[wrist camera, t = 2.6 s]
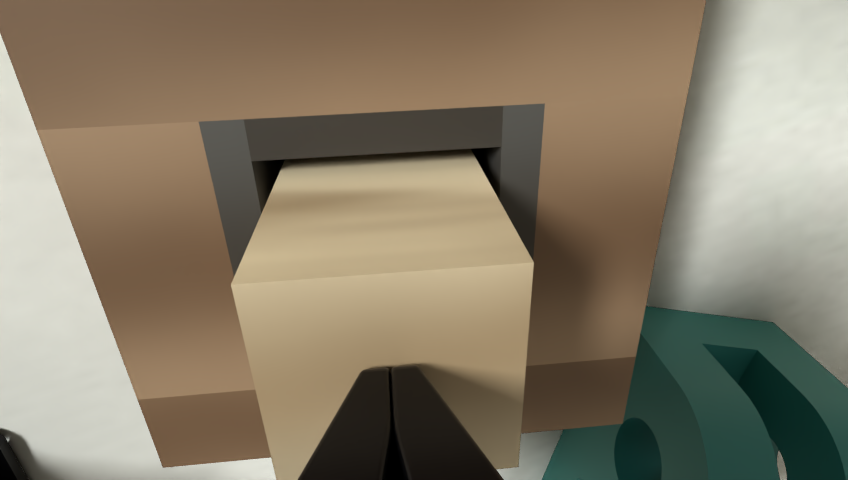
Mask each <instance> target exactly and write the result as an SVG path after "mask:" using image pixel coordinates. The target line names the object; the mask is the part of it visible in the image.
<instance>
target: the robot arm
mask: <svg viewBox="0 0 848 480" xmlns="http://www.w3.org/2000/svg"><path fill="white" fill-rule="evenodd" d="M390 377H391V378H390ZM0 480H28V478H27V476H26V475H25V473H24V471H23V469H22V467H21V465H20V464H19V462H18V460H17V458H16V456H15V455H14V453H13V451H12V449H11V447H10V446H9V444H8V442H7V440H6V439H5V437H4V436H3V435H1V434H0ZM298 480H503V478H502V477H501V476H500V474H499V473H498V472H497V470H496V469H495V468H494V466H493V465H492V464H491V462H490V461H489V460H488V458H487V457H486V456H485V454H484V453H483V452H482V450H481V449H480V447H479V446H478V445H477V443H476V442H475V441H474V439H473V438H472V437H471V435H470V434H469V433H468V431H467V430H466V429H465V427H464V426H463V425H462V423H461V422H460V421H459V419H458V418H457V417H456V415H455V414H454V413H453V411H452V410H451V409H450V407H449V406H448V405H447V403H446V402H445V401H444V399H443V398H442V397H441V395H440V394H439V393H438V391H437V390H436V389H435V387H434V386H433V385H432V383H431V382H430V381H429V379H428V378H427V377H426V375H425V374H424V373H423V371H422V370H421V369H420V368H419V367H418V366H416V365H408V366H396V367H393V368H392V369H391V371H389V369H388V368H373V369H364V370H362V371H361V372H360V374H359V375H358V377H357V379H356V380H355V382H354V384H353V385H352V387H351V389H350V391H349V392H348V394H347V396H346V397H345V399H344V401H343V403H342V404H341V406H340V408H339V409H338V411H337V413H336V415H335V416H334V418H333V420H332V421H331V423H330V425H329V427H328V428H327V430H326V432H325V433H324V435H323V437H322V439H321V440H320V442H319V444H318V445H317V447H316V449H315V451H314V452H313V454H312V456H311V457H310V459H309V461H308V463H307V464H306V466H305V468H304V469H303V471H302V473H301V474H300V476H299V478H298Z"/></svg>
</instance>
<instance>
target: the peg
mask: <svg viewBox="0 0 848 480" xmlns="http://www.w3.org/2000/svg"><path fill="white" fill-rule="evenodd" d="M533 267H534V262H533V260H532V258H531V256H530V255H529V253H528V251H527V249H526V247H525V246H524V244H523V242H522V240H521V238H520V237H519V235H518V233H517V231H516V229H515V228H514V226H513V224H512V222H511V220H510V219H509V217H508V215H507V213H506V211H505V210H504V208H503V206H502V204H501V202H500V201H499V199H498V197H497V195H496V194H495V192H494V190H493V188H492V186H491V185H490V183H489V181H488V179H487V177H486V176H485V174H484V172H483V170H482V168H481V167H480V165H479V163H478V161H477V159H476V158H475V156H474V154H473V152H472V150H471V149H455V150H438V151H420V152H403V153H386V154H368V155H351V156H334V157H317V158H299V159H285V161H284V163H283V165H282V168H281V170H280V172H279V175H278V177H277V179H276V182H275V184H274V186H273V188H272V191H271V193H270V195H269V198H268V200H267V202H266V205H265V207H264V209H263V212H262V214H261V216H260V218H259V221H258V223H257V225H256V228H255V230H254V232H253V235H252V237H251V239H250V242H249V244H248V246H247V248H246V251H245V253H244V255H243V258H242V260H241V262H240V265H239V267H238V269H237V272H236V274H235V276H234V278H233V281H232V283H231V288H232V292H233V296H234V300H235V305H236V309H237V313H238V317H239V322H240V326H241V330H242V335H243V339H244V343H245V347H246V352H247V356H248V360H249V364H250V369H251V373H252V377H253V381H254V386H255V390H256V394H257V399H258V403H259V407H260V411H261V416H262V420H263V424H264V428H265V433H266V437H267V441H268V446H269V450H270V454H271V458H272V463H273V467H274V471H275V475H276V480H298V478H299V476H300V474H301V473H302V471H303V469H304V468H305V466H306V464H307V463H308V461H309V459H310V457H311V456H312V454H313V452H314V451H315V449H316V447H317V445H318V444H319V442H320V440H321V439H322V437H323V435H324V433H325V432H326V430H327V428H328V427H329V425H330V423H331V421H332V420H333V418H334V416H335V415H336V413H337V411H338V409H339V408H340V406H341V404H342V403H343V401H344V399H345V397H346V396H347V394H348V392H349V391H350V389H351V387H352V385H353V384H354V382H355V380H356V379H357V377H358V375H359V374H360V372H361V371H362V370H364V369H373V368H388V369H389V371H391V369H392V368H393V367H396V366H408V365H416V366H418V367H419V368H420V369H421V370H422V371H423V373H424V374H425V375H426V377H427V378H428V379H429V381H430V382H431V383H432V385H433V386H434V387H435V389H436V390H437V391H438V393H439V394H440V395H441V397H442V398H443V399H444V401H445V402H446V403H447V405H448V406H449V407H450V409H451V410H452V411H453V413H454V414H455V415H456V417H457V418H458V419H459V421H460V422H461V423H462V425H463V426H464V427H465V429H466V430H467V431H468V433H469V434H470V435H471V437H472V438H473V439H474V441H475V442H476V443H477V445H478V446H479V447H480V449H481V450H482V452H483V453H484V454H485V456H486V457H487V458H488V460H489V461H490V462H491V464H492V465H493V466H494V468H495V469H503V468H513V467H518V465H519V451H520V438H521V425H522V412H523V399H524V386H525V372H526V359H527V346H528V333H529V320H530V307H531V293H532V280H533ZM390 378H391V377H390Z"/></svg>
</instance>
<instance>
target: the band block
mask: <svg viewBox="0 0 848 480" xmlns="http://www.w3.org/2000/svg"><path fill="white" fill-rule="evenodd" d="M705 4H706V0H0V33H1V36H2V39H3V41H4V44H5V47H6V49H7V52H8V55H9V57H10V60H11V63H12V65H13V68H14V71H15V73H16V76H17V79H18V81H19V84H20V87H21V89H22V92H23V95H24V97H25V100H26V103H27V105H28V108H29V111H30V113H31V116H32V119H33V121H34V124H35V127H36V129H37V132H38V135H39V137H40V140H41V143H42V145H43V148H44V151H45V153H46V156H47V159H48V161H49V164H50V167H51V169H52V172H53V175H54V177H55V180H56V183H57V185H58V188H59V191H60V194H61V196H62V199H63V202H64V204H65V207H66V210H67V212H68V215H69V218H70V220H71V223H72V226H73V228H74V231H75V234H76V236H77V239H78V242H79V244H80V247H81V250H82V252H83V255H84V258H85V260H86V263H87V266H88V268H89V271H90V274H91V276H92V279H93V282H94V284H95V287H96V290H97V292H98V295H99V298H100V300H101V303H102V306H103V308H104V311H105V314H106V316H107V319H108V322H109V324H110V327H111V330H112V332H113V335H114V338H115V340H116V343H117V346H118V348H119V351H120V354H121V356H122V359H123V362H124V365H125V367H126V370H127V373H128V375H129V378H130V381H131V383H132V386H133V389H134V391H135V394H136V397H137V399H138V402H139V405H140V407H141V410H142V413H143V415H144V418H145V421H146V423H147V426H148V429H149V431H150V434H151V437H152V439H153V442H154V445H155V447H156V450H157V453H158V455H159V458H160V461H161V463H162V466H163V468H164V467H174V466H185V465H195V464H206V463H216V462H227V461H237V460H248V459H258V458H269V457H271V454H270V450H269V446H268V441H267V437H266V433H265V428H264V424H263V420H262V416H261V411H260V407H259V403H258V399H257V394H256V390H255V386H254V381H253V377H252V373H251V369H250V364H249V360H248V356H247V352H246V347H245V343H244V339H243V335H242V330H241V326H240V322H239V317H238V313H237V309H236V305H235V300H234V296H233V292H232V288H231V283H232V281H233V278H234V276H235V274H236V272H237V269H238V267H239V265H240V262H241V260H242V258H243V255H244V253H245V251H246V248H247V246H248V244H249V242H250V239H251V237H252V235H253V232H254V230H255V228H256V225H257V223H258V221H259V218H260V216H261V214H262V212H263V209H264V207H265V205H266V202H267V200H268V198H269V195H270V193H271V191H272V188H273V186H274V184H275V182H276V179H277V177H278V175H279V172H280V170H281V168H282V165H283V163H284V161H285V159H299V158H317V157H334V156H351V155H368V154H386V153H403V152H420V151H438V150H455V149H471V150H472V152H473V154H474V156H475V158H476V159H477V161H478V163H479V165H480V167H481V168H482V170H483V172H484V174H485V176H486V177H487V179H488V181H489V183H490V185H491V186H492V188H493V190H494V192H495V194H496V195H497V197H498V199H499V201H500V202H501V204H502V206H503V208H504V210H505V211H506V213H507V215H508V217H509V219H510V220H511V222H512V224H513V226H514V228H515V229H516V231H517V233H518V235H519V237H520V238H521V240H522V242H523V244H524V246H525V247H526V249H527V251H528V253H529V255H530V256H531V258H532V260H533V262H534V267H533V280H532V293H531V307H530V320H529V333H528V346H527V359H526V372H525V386H524V399H523V412H522V425H521V433H531V432H541V431H552V430H562V429H573V428H583V427H594V426H604V425H615V424H623V419H624V414H625V409H626V404H627V399H628V394H629V389H630V384H631V379H632V374H633V369H634V363H635V358H636V353H637V348H638V343H639V338H640V333H641V328H642V323H643V318H644V313H645V308H646V303H647V298H648V292H649V287H650V282H651V277H652V272H653V267H654V262H655V257H656V252H657V247H658V242H659V237H660V232H661V227H662V222H663V216H664V211H665V206H666V201H667V196H668V191H669V186H670V181H671V176H672V171H673V166H674V161H675V156H676V151H677V146H678V140H679V135H680V130H681V125H682V120H683V115H684V110H685V105H686V100H687V95H688V90H689V85H690V80H691V75H692V69H693V64H694V59H695V54H696V49H697V44H698V39H699V34H700V29H701V24H702V19H703V14H704V9H705Z"/></svg>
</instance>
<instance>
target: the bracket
mask: <svg viewBox="0 0 848 480" xmlns="http://www.w3.org/2000/svg"><path fill="white" fill-rule="evenodd" d="M778 450H779V451H780V452H781V455H782V457H783V460H784V463H785V466H786V471H787V480H848V388H847V387H846V386H845V385H843V384H842V383H841V382H840V381H839V380H838V379H837V378H836V377H834V376H833V375H832V374H831V373H830V372H829V371H828V370H826V369H825V368H824V367H823V366H822V365H821V364H820V363H819V362H817V361H816V360H815V359H814V358H813V357H812V356H811V355H810V354H808V353H807V352H806V351H805V350H804V349H803V348H802V347H800V346H799V345H798V344H797V343H796V342H795V341H794V340H793V339H791V338H790V337H789V336H788V335H787V334H786V333H785V332H783V331H782V330H781V329H780V328H779V327H778V326H777V325H776V324H774V323H773V322H767V321H759V320H751V319H743V318H735V317H727V316H719V315H711V314H703V313H695V312H688V311H680V310H672V309H664V308H656V307H648V306H646V308H645V313H644V318H643V323H642V328H641V333H640V338H639V343H638V348H637V353H636V358H635V363H634V369H633V374H632V379H631V384H630V389H629V394H628V399H627V404H626V409H625V414H624V419H623V424H615V425H604V426H594V427H583V428H573V429H564V430H563V432H562V434H561V437H560V439H559V441H558V443H557V446H556V448H555V450H554V453H553V455H552V457H551V460H550V462H549V464H548V467H547V469H546V471H545V474H544V476H543V478H542V480H780V478H779V473H778V468H777V455H778Z"/></svg>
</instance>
